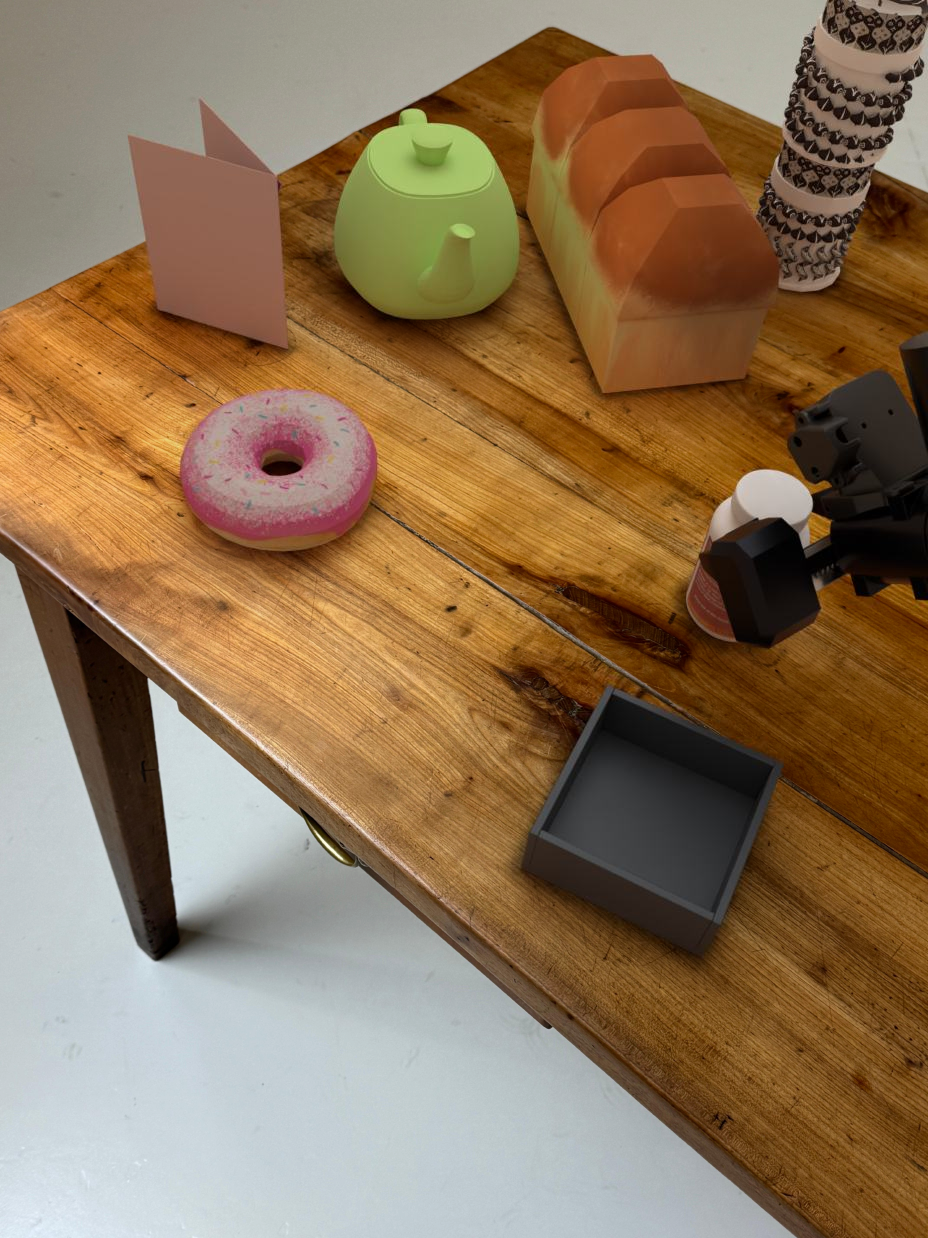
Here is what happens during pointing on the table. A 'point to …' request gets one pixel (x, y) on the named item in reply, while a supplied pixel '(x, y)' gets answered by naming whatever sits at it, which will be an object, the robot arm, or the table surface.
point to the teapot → (427, 222)
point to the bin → (653, 819)
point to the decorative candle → (838, 132)
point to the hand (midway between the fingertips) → (757, 531)
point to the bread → (646, 229)
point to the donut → (279, 505)
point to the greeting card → (213, 232)
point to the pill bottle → (750, 500)
